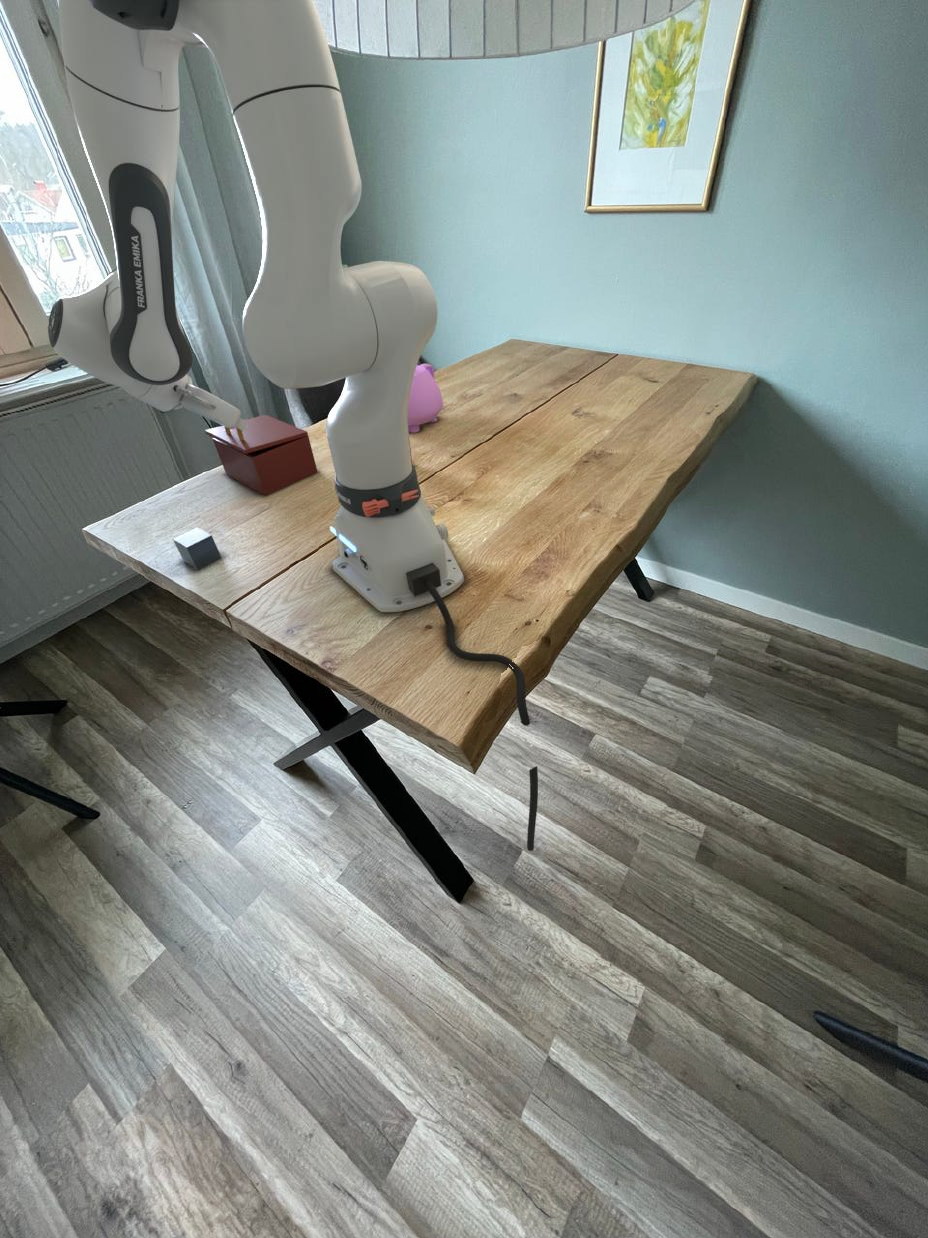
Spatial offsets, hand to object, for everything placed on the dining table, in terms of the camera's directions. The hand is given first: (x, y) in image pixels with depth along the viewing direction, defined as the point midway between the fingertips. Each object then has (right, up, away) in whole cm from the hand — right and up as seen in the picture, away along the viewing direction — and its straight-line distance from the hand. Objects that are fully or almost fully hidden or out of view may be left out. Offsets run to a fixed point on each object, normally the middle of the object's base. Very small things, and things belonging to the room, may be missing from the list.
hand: (234, 422), depth 100 cm
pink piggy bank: (+31, +9, +26) cm, 41 cm away
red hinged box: (+3, -7, +10) cm, 13 cm away
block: (0, -28, -13) cm, 30 cm away
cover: (+3, -1, +4) cm, 5 cm away
